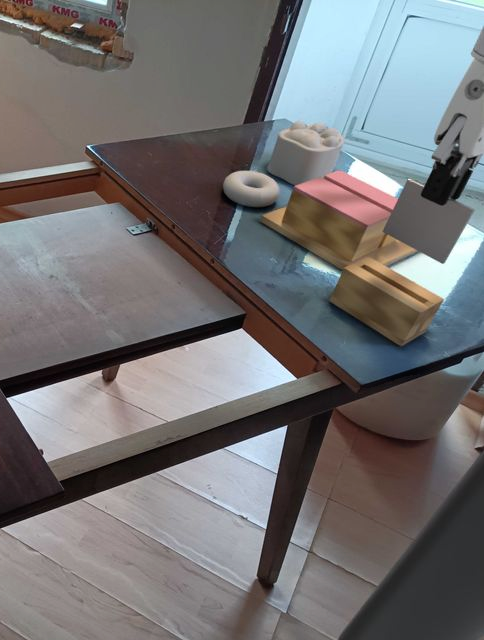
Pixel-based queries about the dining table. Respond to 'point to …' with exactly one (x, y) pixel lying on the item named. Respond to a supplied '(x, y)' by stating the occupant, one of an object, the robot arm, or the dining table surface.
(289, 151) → the lumpy-topped squat cylinder
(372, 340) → the dining table surface
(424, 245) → the flat grey rectangular blade
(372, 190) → the cake slice
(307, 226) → the cake
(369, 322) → the knife block
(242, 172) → the donut
